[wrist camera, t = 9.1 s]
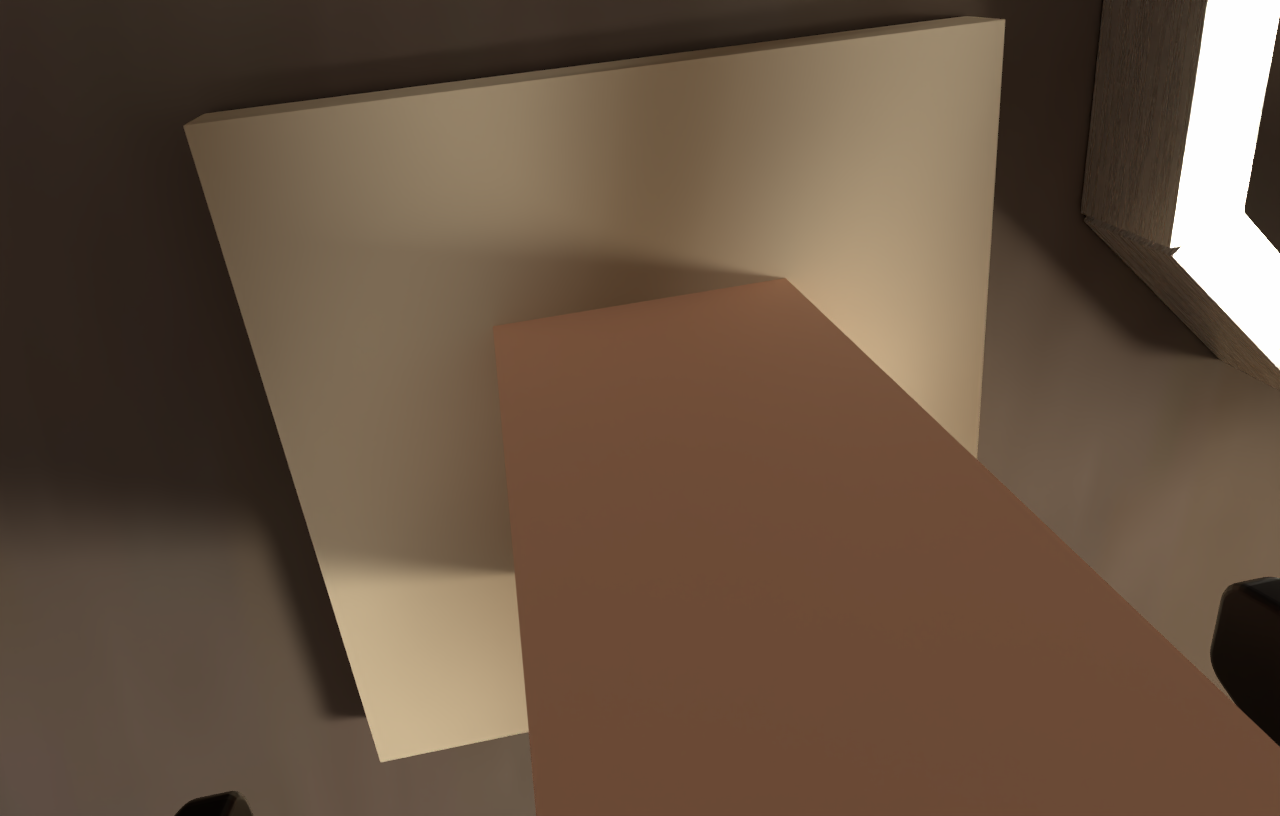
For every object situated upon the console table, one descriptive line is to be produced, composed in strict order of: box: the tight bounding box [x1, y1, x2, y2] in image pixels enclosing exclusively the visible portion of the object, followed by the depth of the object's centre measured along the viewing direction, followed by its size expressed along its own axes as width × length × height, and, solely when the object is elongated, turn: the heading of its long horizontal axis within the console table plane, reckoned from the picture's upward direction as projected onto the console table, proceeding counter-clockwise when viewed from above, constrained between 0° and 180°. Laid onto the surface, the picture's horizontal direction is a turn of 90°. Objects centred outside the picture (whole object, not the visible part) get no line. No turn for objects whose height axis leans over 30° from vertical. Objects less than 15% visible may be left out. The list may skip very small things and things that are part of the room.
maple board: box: [183, 16, 1005, 762], centre depth 14 cm, size 10×10×1 cm
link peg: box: [493, 278, 1280, 816], centre depth 9 cm, size 4×4×10 cm
